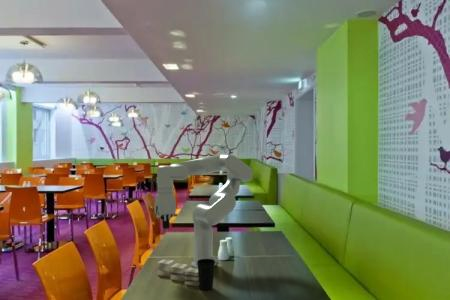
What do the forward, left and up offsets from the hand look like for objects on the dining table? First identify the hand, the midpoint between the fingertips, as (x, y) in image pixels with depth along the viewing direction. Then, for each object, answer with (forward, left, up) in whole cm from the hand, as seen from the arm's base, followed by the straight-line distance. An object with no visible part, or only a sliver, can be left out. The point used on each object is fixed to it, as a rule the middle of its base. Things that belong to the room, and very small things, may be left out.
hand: (166, 228), depth 206 cm
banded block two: (-19, +10, -22) cm, 31 cm away
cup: (-27, +15, -22) cm, 38 cm away
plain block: (-1, +2, -22) cm, 22 cm away
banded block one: (-10, +6, -22) cm, 25 cm away
